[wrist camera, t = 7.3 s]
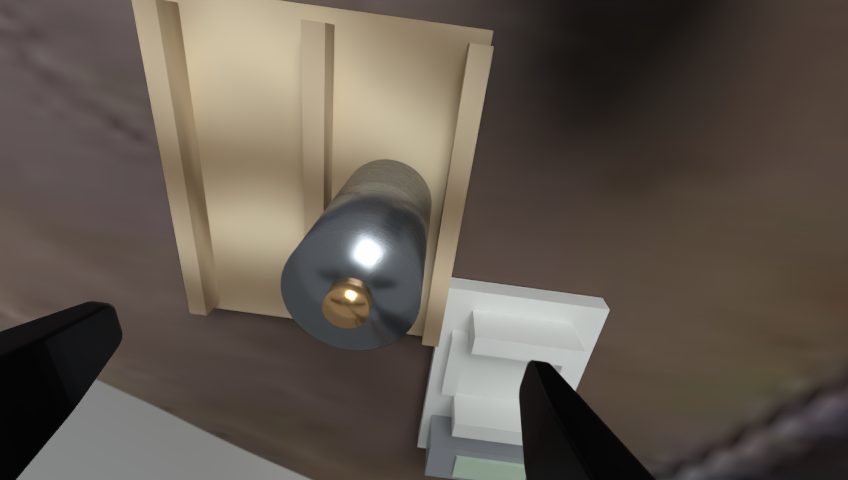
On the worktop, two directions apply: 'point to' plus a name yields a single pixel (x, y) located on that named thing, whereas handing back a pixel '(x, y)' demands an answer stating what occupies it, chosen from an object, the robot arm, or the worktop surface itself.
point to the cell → (363, 260)
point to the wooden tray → (302, 132)
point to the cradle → (497, 372)
